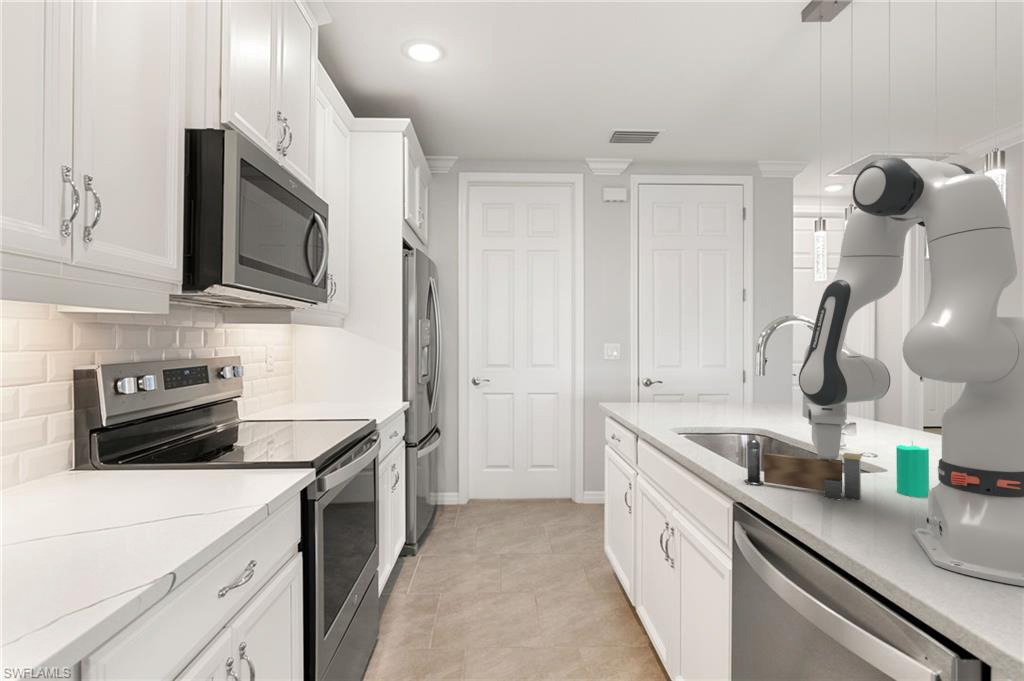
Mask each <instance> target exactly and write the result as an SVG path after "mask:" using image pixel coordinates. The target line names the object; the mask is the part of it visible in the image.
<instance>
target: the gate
mask: <svg viewBox="0 0 1024 681" xmlns="http://www.w3.org/2000/svg"><path fill="white" fill-rule="evenodd" d="M825 478H831V479H839V480H841V495H842V493H843V460H842V459H829V460H819V459H818V458H809V457H803V456H794V455H793V456H792V455H787V454H775V453H769V452H767V453H766V452H765V453H764V454H763V482H764V483H766V484H767V483H768V484H775V485H781V486H787V487H792V488H793V487H795V488H801V489H807V490H814V491H820V492H821V491H822V492H825V487H824V480H825Z"/></svg>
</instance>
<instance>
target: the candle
mask: <svg viewBox="0 0 1024 681" xmlns="http://www.w3.org/2000/svg"><path fill="white" fill-rule="evenodd" d="M913 444H914V443H913V440H911V445H910V446H909V445H908V446H907V445H902V444H899V445H896V452H895V454H896V493H897V494H900V495H902V496H906V497H907V496H908V497H911V498H912V497H913V498H928V491H929V490H930V452H929V451H930V450H929V448H926V447H925V448H923V447H920V446H917V445H913Z"/></svg>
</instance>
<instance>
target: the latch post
mask: <svg viewBox="0 0 1024 681" xmlns="http://www.w3.org/2000/svg"><path fill="white" fill-rule="evenodd" d="M842 458H843V461H844V462H843V464H844V466H843V467H844V468H843V470H844V471H843V472H844V474H843V475H844V476H843V477H844V478H843V479H844V486H843V487H844V489H843V490H844V492H843V493H844V499H845V498H847V500H852V499H853V501H858V500H860V501H861V499H862V498H861V496H862V495H861V493H862V490H861V488H862V487H861V486H862V485H861V483H862V482H861V481H862V478H861V477H862V476H861V474H862V473H861V470H862V469H861V466H862V465H861V459H862V454H861V453H851V452H844V453H843V455H842ZM824 487H825V491H824V498H825V497H827V498H826V499H831V498H834V499H833V500H837V499H841V500H842V494H841V480H839V479H831V478H825V480H824Z"/></svg>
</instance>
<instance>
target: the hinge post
mask: <svg viewBox="0 0 1024 681" xmlns="http://www.w3.org/2000/svg"><path fill="white" fill-rule="evenodd" d="M746 448H747V449H746V450H747V454H746V456H747V458H746V459H747V479H744V480H743V483H744V482H745V483H747V484H746V485H748V484H750V485H749V486H754V485H755V486H758V487H760V486H763V485H765V482H764V480H763V481H762V480H761V451H760V450H761V443H760V442H759V440H758V439H755V438H751V439H749V440H748V441H747V443H746ZM745 483H744V484H745Z"/></svg>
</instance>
